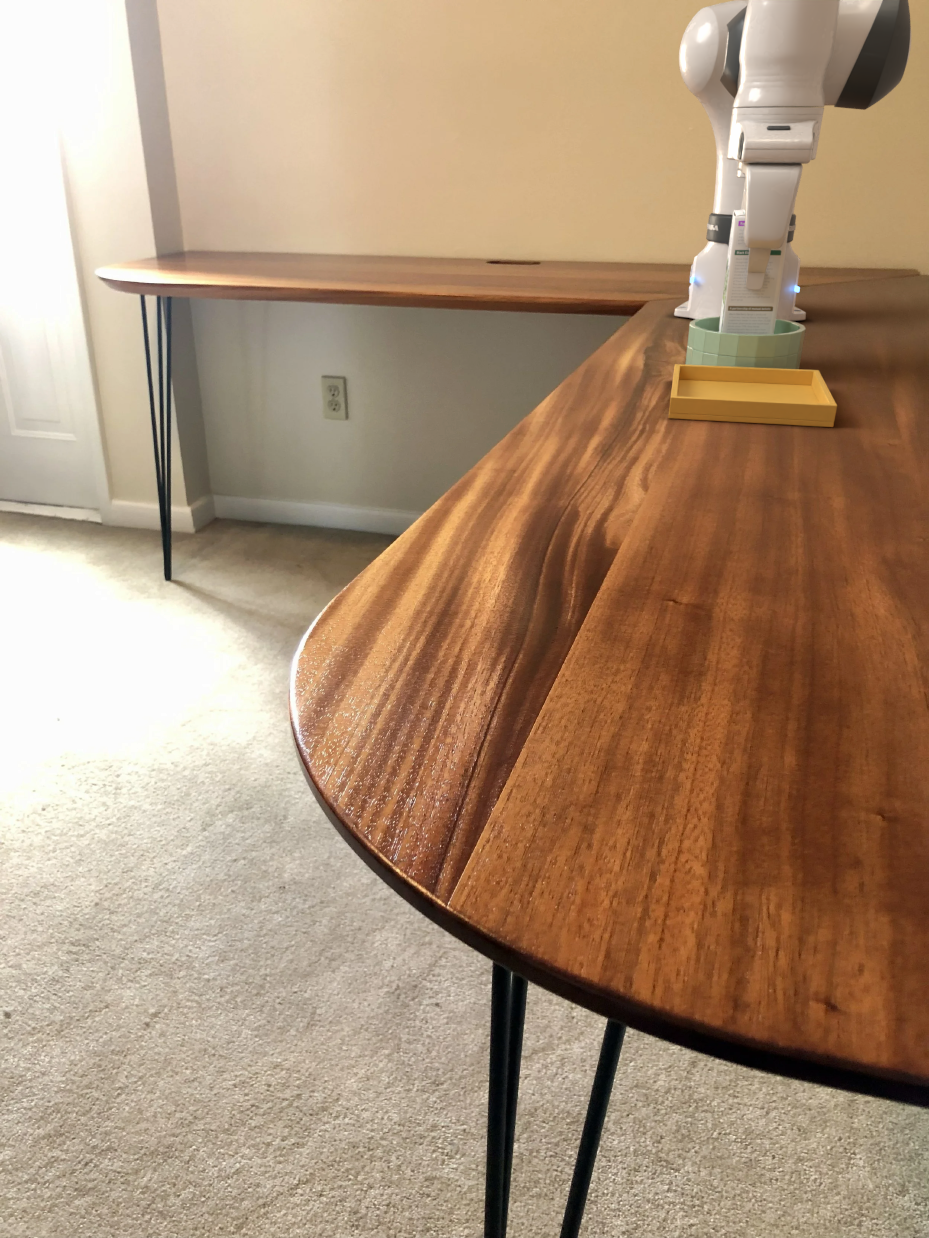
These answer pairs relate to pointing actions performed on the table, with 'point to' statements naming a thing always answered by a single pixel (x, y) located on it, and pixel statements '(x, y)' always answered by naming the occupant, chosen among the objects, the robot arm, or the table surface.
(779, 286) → the syrup box
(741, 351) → the bowl
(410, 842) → the table surface
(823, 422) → the tray
